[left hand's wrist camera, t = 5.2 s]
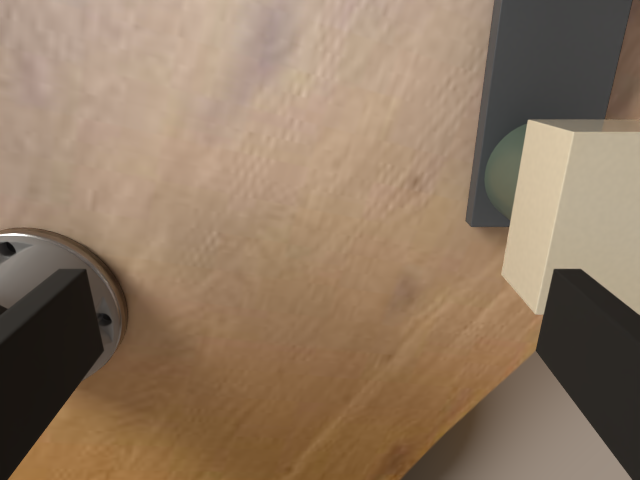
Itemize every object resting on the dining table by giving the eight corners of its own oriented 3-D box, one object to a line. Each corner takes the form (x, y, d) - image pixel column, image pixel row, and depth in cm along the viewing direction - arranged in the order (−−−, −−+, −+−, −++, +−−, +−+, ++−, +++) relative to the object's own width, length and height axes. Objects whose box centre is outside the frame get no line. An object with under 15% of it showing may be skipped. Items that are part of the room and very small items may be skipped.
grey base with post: (570, 221, 38) (668, 283, 27) (465, 221, 38) (522, 283, 27) (670, -226, 27) (900, -415, 16) (523, -226, 27) (656, -415, 16)
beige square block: (651, 274, 29) (714, 315, 25) (500, 274, 29) (534, 315, 25) (700, 119, 25) (785, 132, 21) (527, 119, 25) (573, 132, 21)
